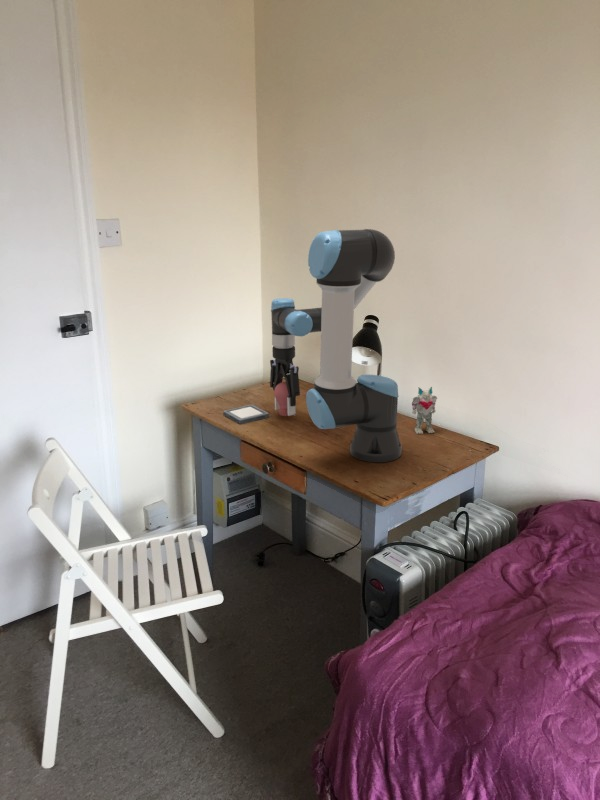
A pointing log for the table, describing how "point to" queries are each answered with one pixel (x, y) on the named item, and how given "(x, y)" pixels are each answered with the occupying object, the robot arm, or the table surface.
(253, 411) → the holder
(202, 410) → the table surface
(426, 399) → the figurine
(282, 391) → the light bulb
